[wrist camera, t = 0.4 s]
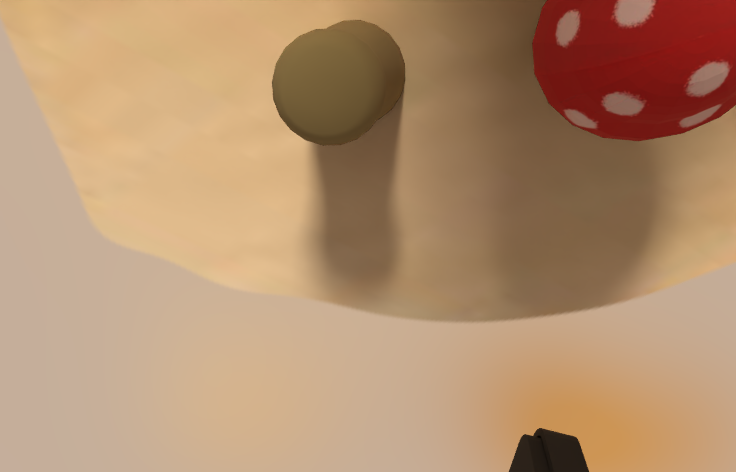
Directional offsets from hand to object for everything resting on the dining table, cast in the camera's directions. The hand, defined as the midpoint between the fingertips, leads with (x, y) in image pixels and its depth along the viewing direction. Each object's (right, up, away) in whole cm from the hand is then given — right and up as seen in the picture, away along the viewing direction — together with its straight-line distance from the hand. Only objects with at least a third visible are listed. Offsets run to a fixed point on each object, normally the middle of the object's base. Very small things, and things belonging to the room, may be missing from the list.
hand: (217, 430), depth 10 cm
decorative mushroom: (+15, +14, +26) cm, 34 cm away
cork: (+2, +13, +28) cm, 31 cm away
